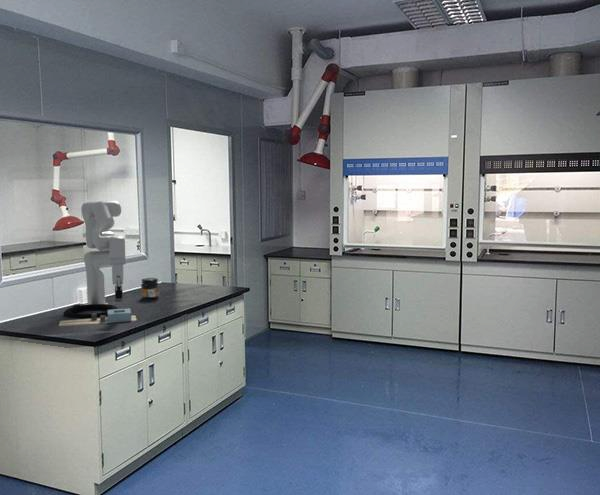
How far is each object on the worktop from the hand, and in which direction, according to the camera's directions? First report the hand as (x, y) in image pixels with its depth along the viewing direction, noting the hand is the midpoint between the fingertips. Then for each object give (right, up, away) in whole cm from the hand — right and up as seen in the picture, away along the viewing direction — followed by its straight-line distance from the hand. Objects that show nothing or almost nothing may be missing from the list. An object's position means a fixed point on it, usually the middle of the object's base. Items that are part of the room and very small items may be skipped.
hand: (118, 297), depth 279 cm
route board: (-10, -13, -2) cm, 16 cm away
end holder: (0, -11, +1) cm, 11 cm away
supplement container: (-1, -6, +61) cm, 61 cm away
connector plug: (0, -2, 0) cm, 2 cm away
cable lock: (-21, -11, +17) cm, 29 cm away
